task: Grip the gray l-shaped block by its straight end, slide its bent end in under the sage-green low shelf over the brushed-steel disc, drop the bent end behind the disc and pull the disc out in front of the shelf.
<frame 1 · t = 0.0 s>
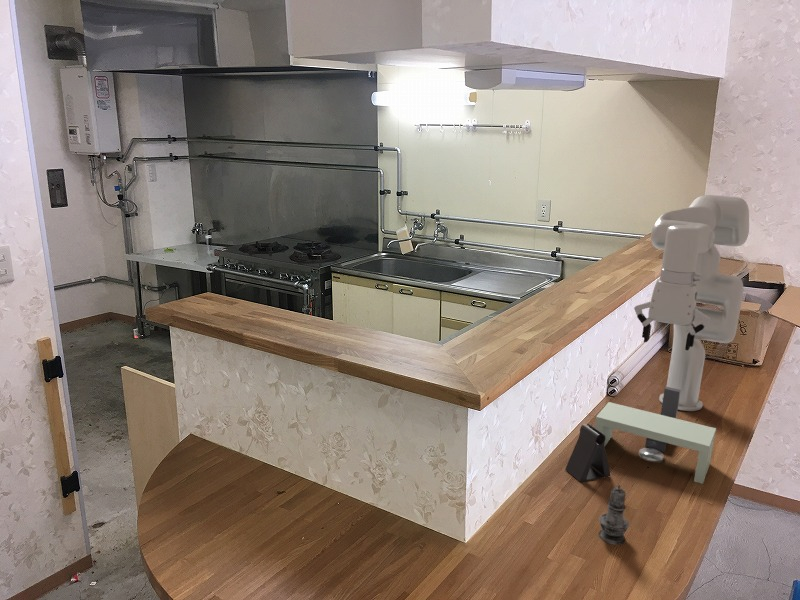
hand: (666, 344, 159), 31 cm above the countertop, tool pointing down, fingers open, 9 cm apart
door stopper: (587, 474, 159), on the countertop
salt shaker: (611, 537, 133), on the countertop
low shelf: (650, 457, 168), on the countertop
steel disc: (650, 457, 169), on the countertop
gray l-shaped block: (666, 428, 186), on the countertop
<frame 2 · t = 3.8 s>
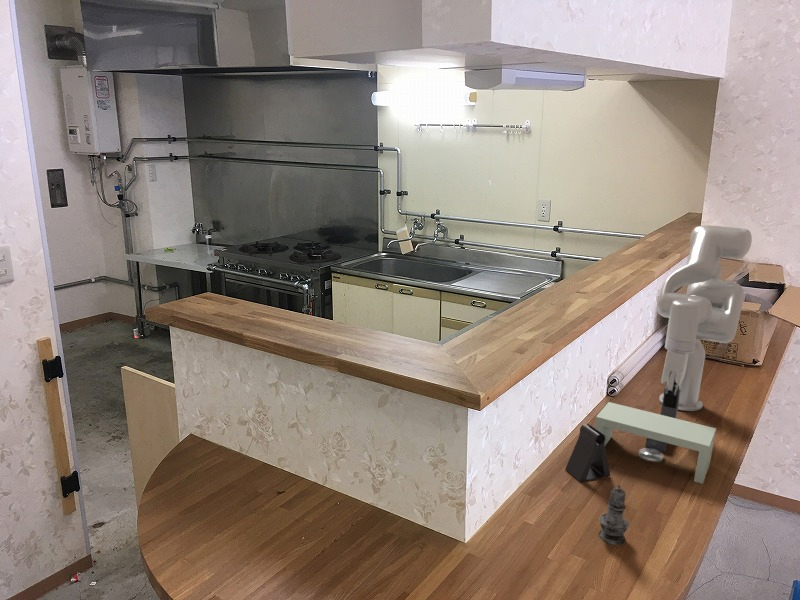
hand: (670, 405, 184), 7 cm above the countertop, tool pointing down, fingers closed on gray l-shaped block
gray l-shaped block: (666, 428, 186), on the countertop, touching gripper
everything else where it was.
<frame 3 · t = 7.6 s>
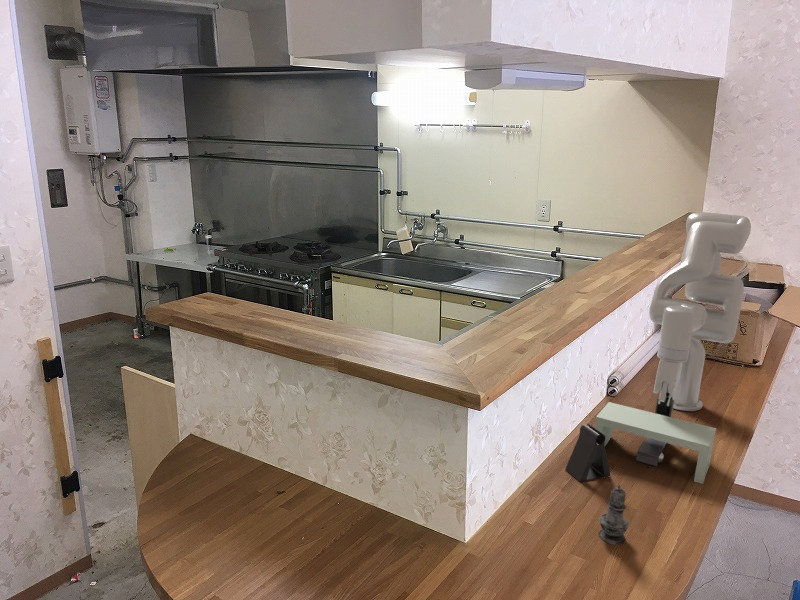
hand: (663, 416, 175), 8 cm above the countertop, tool pointing down, fingers closed on gray l-shaped block
gray l-shaped block: (659, 439, 177), on the countertop, touching gripper
everything else where it was.
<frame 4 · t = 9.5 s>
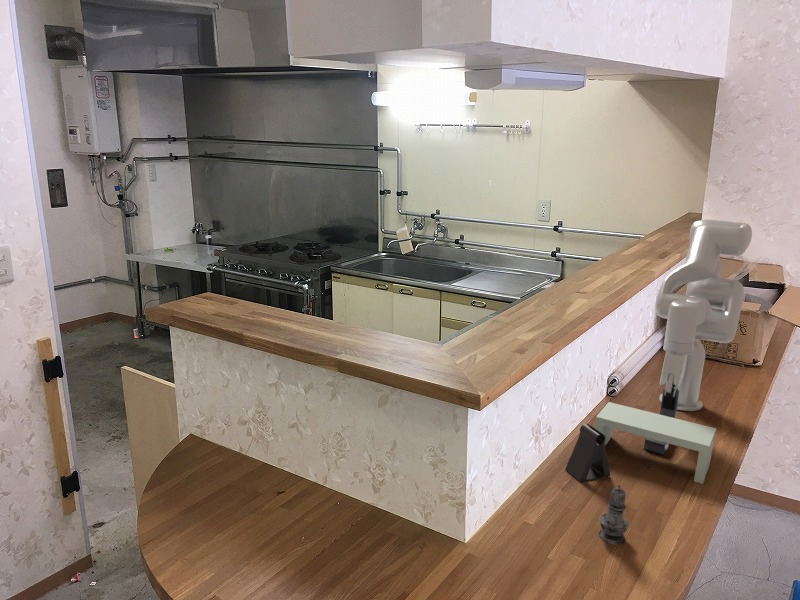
hand: (669, 406, 182), 7 cm above the countertop, tool pointing down, fingers closed on gray l-shaped block
steel disc: (656, 446, 174), on the countertop
gray l-shaped block: (665, 429, 184), on the countertop, touching gripper
everything else where it was.
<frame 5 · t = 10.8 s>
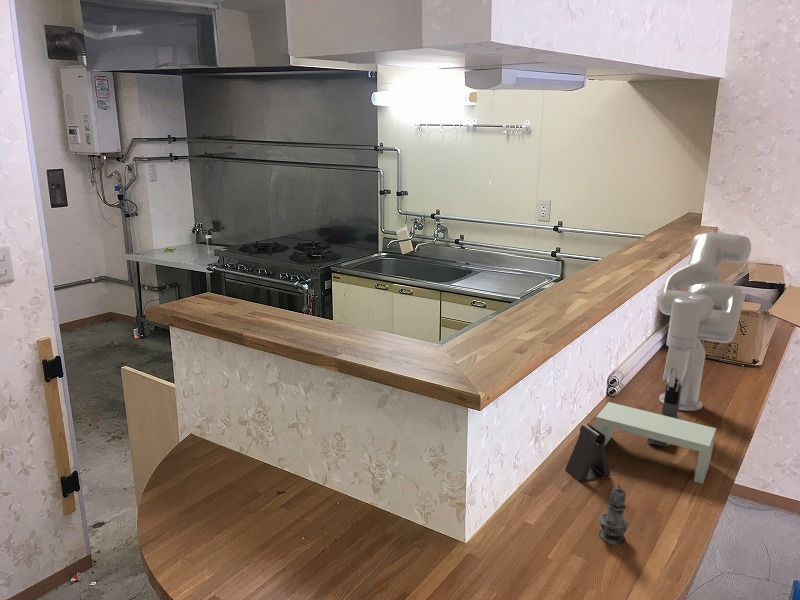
hand: (671, 401, 186), 7 cm above the countertop, tool pointing down, fingers closed on gray l-shaped block
steel disc: (658, 441, 178), on the countertop
gray l-shaped block: (668, 423, 187), point 1 cm above the countertop, touching gripper
everything else where it was.
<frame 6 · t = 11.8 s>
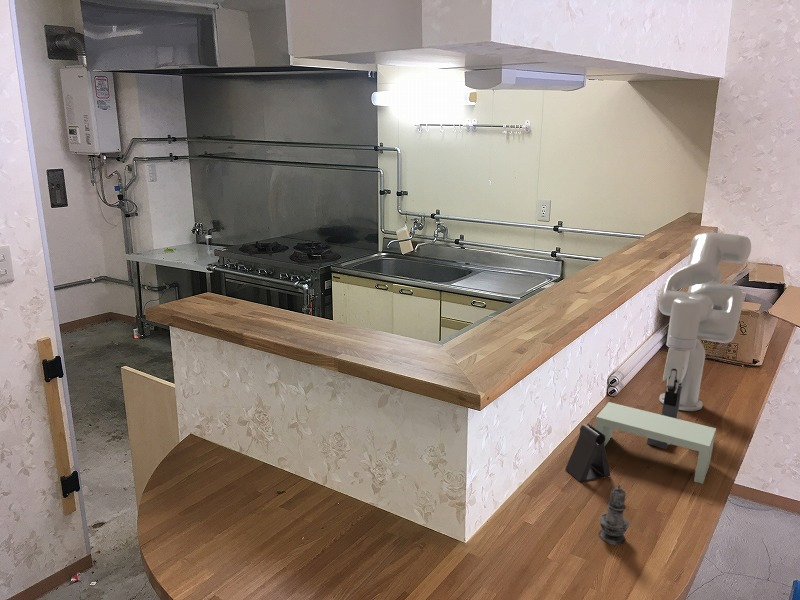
hand: (671, 401, 185), 8 cm above the countertop, tool pointing down, fingers open, 5 cm apart
gray l-shaped block: (668, 425, 187), on the countertop
everything else where it was.
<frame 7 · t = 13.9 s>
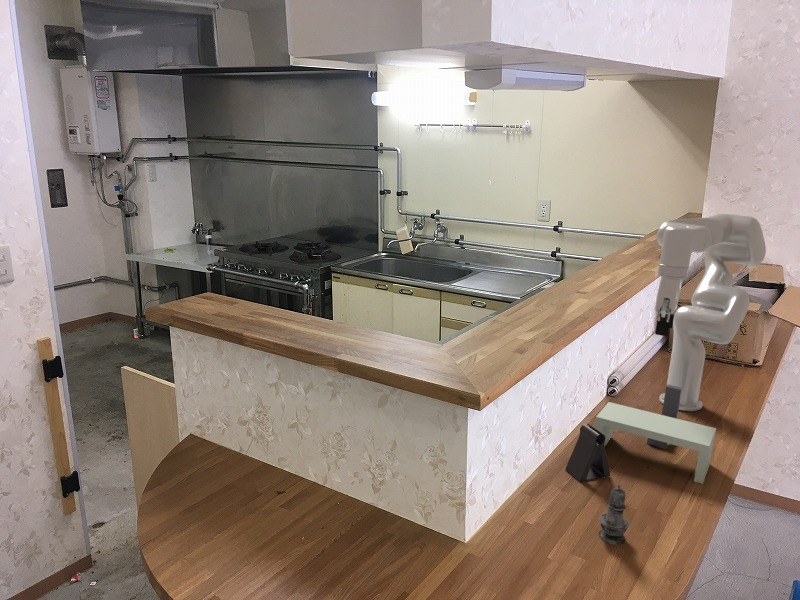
hand: (663, 331, 181), 28 cm above the countertop, tool pointing down, fingers open, 9 cm apart
nothing on the countertop moved.
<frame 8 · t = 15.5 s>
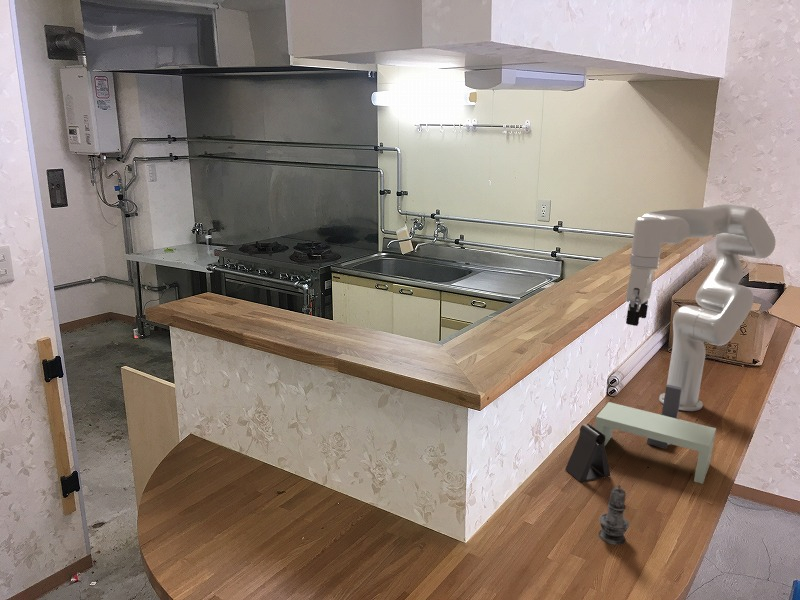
hand: (636, 321, 183), 30 cm above the countertop, tool pointing down, fingers open, 9 cm apart
nothing on the countertop moved.
at the end: steel disc inside the target area (9.4 cm from its centre), on the countertop; steel disc tilted 0° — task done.
